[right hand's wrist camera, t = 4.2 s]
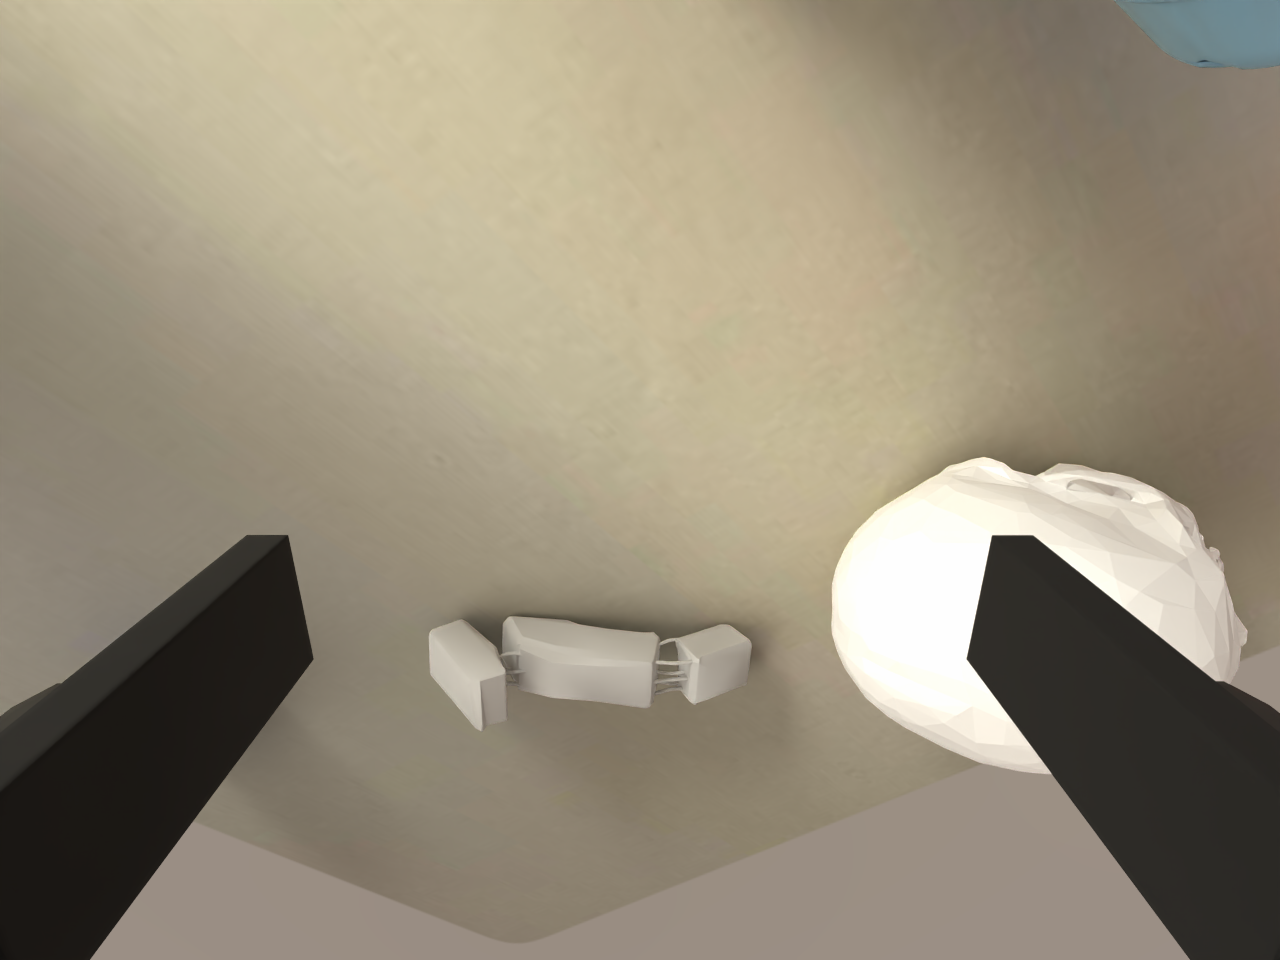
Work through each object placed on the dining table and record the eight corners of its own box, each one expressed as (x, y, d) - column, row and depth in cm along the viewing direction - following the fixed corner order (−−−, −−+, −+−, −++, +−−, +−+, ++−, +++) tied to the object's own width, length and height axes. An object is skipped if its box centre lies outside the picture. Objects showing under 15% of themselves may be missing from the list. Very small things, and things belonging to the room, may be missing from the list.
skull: (1163, 608, 43) (1435, 809, 28) (813, 651, 44) (892, 863, 29) (1186, 404, 38) (1526, 514, 23) (796, 460, 40) (880, 597, 25)
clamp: (436, 660, 45) (412, 737, 38) (431, 612, 43) (406, 683, 37) (734, 655, 46) (759, 726, 40) (740, 608, 45) (766, 675, 39)
